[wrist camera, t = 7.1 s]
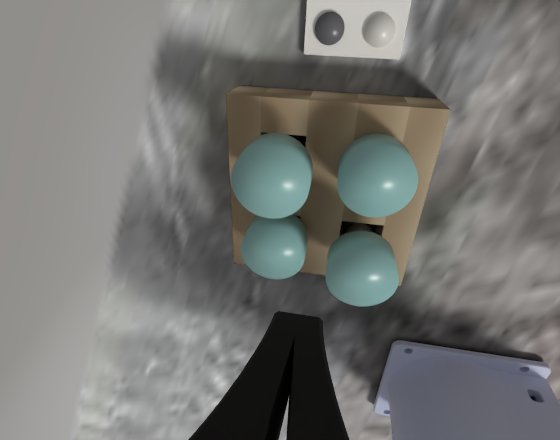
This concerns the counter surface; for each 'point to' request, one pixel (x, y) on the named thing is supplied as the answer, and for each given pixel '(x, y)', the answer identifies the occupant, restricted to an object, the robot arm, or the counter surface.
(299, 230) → the button
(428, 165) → the button board
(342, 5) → the pattern card
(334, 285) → the button
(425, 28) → the counter surface
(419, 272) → the counter surface
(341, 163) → the button
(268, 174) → the button
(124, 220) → the counter surface
